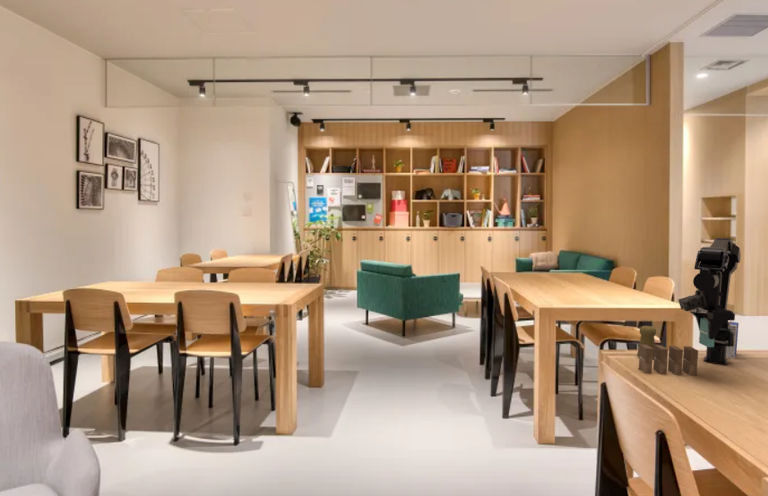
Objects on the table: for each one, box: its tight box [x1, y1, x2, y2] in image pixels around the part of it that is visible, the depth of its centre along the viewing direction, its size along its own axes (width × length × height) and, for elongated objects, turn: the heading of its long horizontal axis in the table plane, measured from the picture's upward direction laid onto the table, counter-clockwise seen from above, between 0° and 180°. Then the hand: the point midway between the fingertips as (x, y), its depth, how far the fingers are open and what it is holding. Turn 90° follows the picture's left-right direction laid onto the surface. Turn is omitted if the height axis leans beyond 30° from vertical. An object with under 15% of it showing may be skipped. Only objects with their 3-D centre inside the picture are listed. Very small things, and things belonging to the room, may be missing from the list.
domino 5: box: [698, 318, 714, 348], centre depth 165 cm, size 2×5×8 cm, turn 174°
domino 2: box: [652, 344, 669, 375], centre depth 167 cm, size 2×5×8 cm, turn 175°
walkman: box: [726, 320, 739, 359], centre depth 187 cm, size 8×3×12 cm, turn 141°
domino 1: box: [638, 344, 653, 375], centre depth 167 cm, size 2×5×8 cm, turn 174°
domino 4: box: [682, 345, 699, 377], centre depth 166 cm, size 2×5×8 cm, turn 174°
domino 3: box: [667, 345, 684, 376], centre depth 166 cm, size 2×5×8 cm, turn 174°
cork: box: [636, 325, 657, 361], centre depth 183 cm, size 6×6×11 cm
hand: (706, 337), depth 165 cm, fingers closed on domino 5, 5 cm apart
